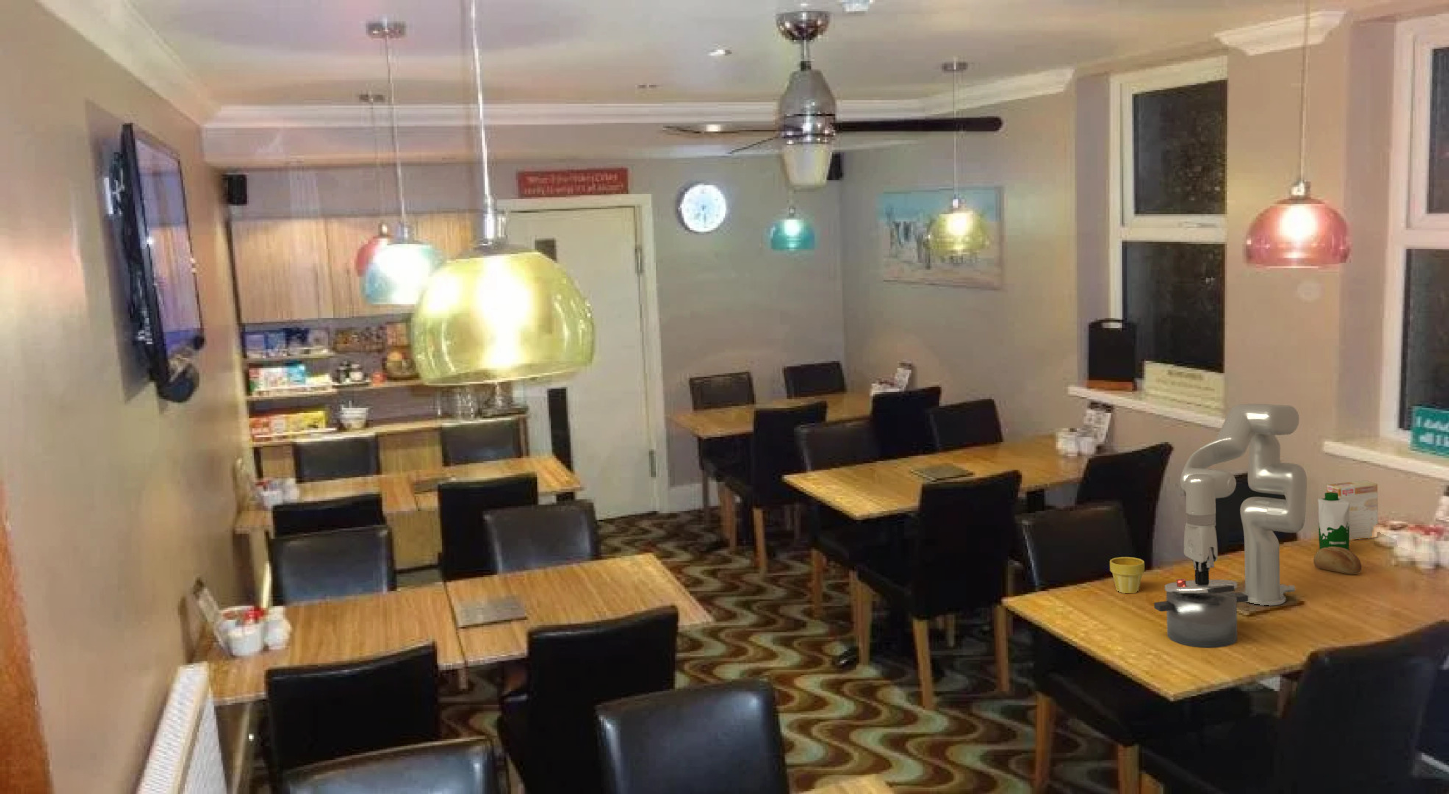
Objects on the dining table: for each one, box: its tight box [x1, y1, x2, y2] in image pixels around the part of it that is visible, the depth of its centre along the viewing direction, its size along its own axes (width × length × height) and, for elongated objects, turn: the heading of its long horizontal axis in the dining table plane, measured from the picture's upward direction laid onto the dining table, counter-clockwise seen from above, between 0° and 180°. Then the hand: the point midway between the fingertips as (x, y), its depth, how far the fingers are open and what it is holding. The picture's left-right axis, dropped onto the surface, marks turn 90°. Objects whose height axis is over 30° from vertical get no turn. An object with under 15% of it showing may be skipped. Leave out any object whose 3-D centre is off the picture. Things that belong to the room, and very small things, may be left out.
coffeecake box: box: [1326, 479, 1379, 541], centre depth 400 cm, size 15×7×20 cm, turn 97°
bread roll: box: [1313, 547, 1363, 575], centre depth 364 cm, size 10×15×8 cm, turn 31°
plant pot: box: [1109, 556, 1145, 594], centre depth 360 cm, size 10×10×10 cm
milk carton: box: [1317, 492, 1350, 551], centre depth 384 cm, size 9×9×20 cm
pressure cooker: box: [1153, 591, 1248, 649], centre depth 316 cm, size 26×19×12 cm
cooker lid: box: [1164, 578, 1238, 593], centre depth 313 cm, size 19×22×3 cm
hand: (1202, 584), depth 313 cm, fingers closed
